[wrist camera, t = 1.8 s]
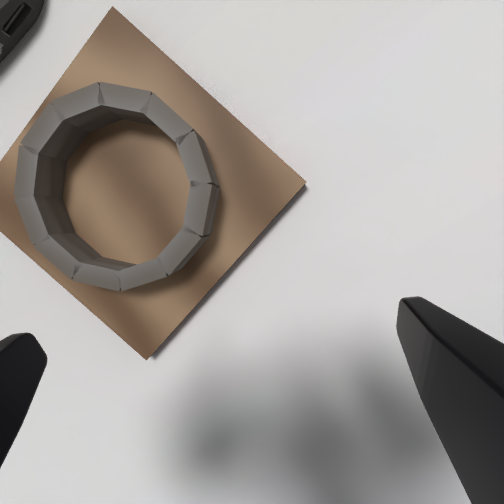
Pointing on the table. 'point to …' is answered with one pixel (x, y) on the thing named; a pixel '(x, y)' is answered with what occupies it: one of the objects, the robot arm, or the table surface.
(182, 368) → the table surface
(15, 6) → the media streaming box
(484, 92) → the table surface
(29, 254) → the collar plate
